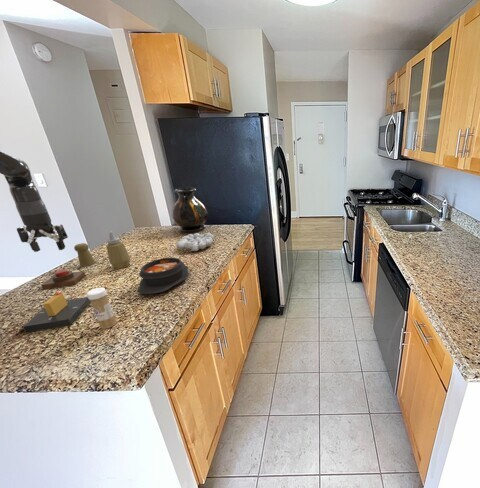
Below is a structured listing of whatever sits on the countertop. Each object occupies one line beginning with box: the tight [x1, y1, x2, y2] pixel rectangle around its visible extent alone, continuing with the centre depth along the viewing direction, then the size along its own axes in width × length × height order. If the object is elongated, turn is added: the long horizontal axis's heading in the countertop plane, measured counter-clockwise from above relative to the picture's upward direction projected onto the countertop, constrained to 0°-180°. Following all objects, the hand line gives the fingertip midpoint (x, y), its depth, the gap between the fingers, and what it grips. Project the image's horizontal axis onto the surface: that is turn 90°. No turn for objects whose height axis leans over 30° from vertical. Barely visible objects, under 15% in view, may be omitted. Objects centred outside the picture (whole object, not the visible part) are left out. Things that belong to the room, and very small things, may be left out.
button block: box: [40, 270, 86, 290], centre depth 113 cm, size 11×9×4 cm
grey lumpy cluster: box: [175, 232, 215, 252], centre depth 151 cm, size 22×21×6 cm
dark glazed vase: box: [171, 187, 209, 234], centre depth 175 cm, size 22×22×28 cm
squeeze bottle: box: [106, 231, 131, 270], centre depth 124 cm, size 8×8×18 cm
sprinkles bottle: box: [86, 287, 118, 330], centre depth 85 cm, size 5×5×14 cm
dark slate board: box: [22, 296, 91, 334], centre depth 91 cm, size 12×14×3 cm
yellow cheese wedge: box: [42, 292, 68, 316], centre depth 90 cm, size 6×2×5 cm, turn 13°
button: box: [54, 269, 68, 277], centre depth 112 cm, size 4×4×2 cm
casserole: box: [137, 257, 190, 295], centre depth 112 cm, size 25×19×8 cm
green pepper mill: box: [73, 242, 97, 268], centre depth 128 cm, size 6×6×11 cm
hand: (50, 250), depth 106 cm, fingers open, 8 cm apart
